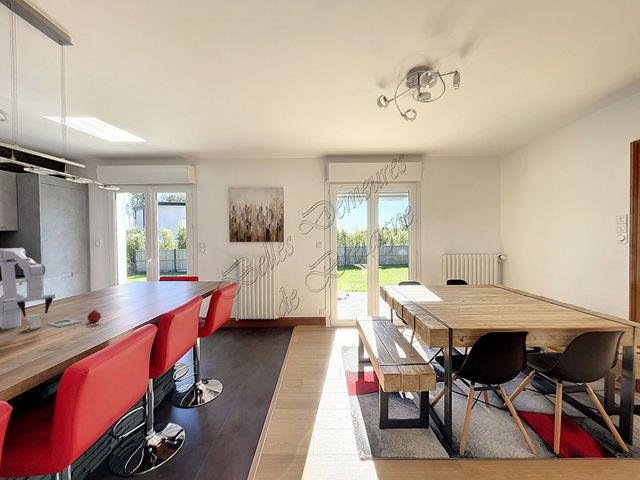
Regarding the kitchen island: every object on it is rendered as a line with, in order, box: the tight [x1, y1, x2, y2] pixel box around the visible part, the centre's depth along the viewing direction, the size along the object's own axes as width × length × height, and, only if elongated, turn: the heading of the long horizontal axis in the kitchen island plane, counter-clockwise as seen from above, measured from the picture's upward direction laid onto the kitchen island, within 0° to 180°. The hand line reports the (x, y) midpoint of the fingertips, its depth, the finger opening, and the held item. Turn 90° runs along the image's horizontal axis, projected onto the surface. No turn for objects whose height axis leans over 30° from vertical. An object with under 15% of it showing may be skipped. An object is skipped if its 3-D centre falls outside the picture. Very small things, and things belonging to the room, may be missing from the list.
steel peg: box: [26, 313, 43, 331], centre depth 144 cm, size 4×4×7 cm
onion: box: [87, 308, 102, 324], centre depth 154 cm, size 6×6×8 cm
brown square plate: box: [19, 324, 51, 333], centre depth 144 cm, size 9×9×1 cm
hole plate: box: [45, 318, 83, 328], centre depth 152 cm, size 14×10×2 cm
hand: (35, 314), depth 138 cm, fingers open, 7 cm apart
